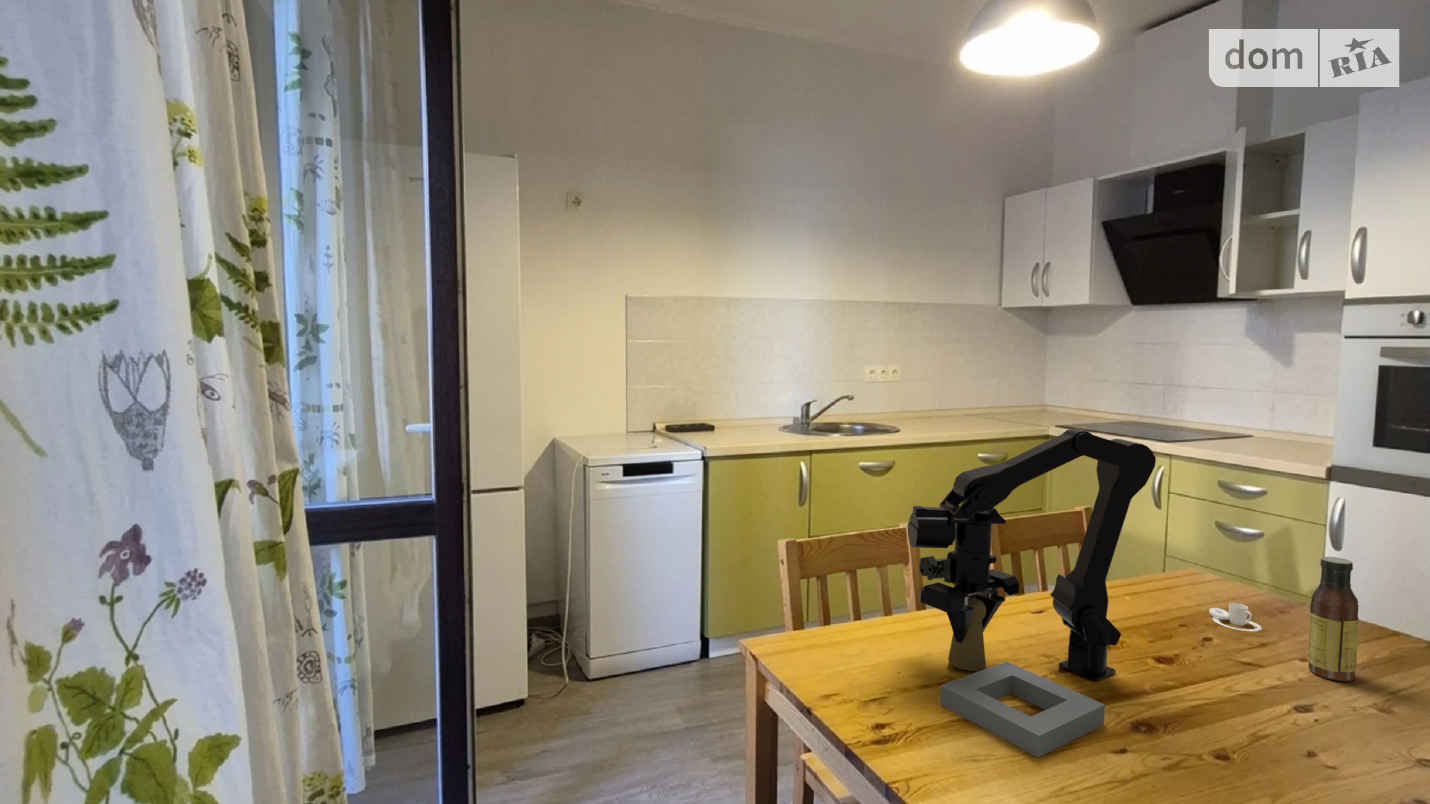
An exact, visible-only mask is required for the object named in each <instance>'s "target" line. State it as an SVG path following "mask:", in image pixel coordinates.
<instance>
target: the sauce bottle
mask: <svg viewBox="0 0 1430 804" xmlns="http://www.w3.org/2000/svg"><path fill="white" fill-rule="evenodd" d="M1353 565H1354V564H1353V562H1352V560H1349V559H1346V558H1341V557H1335V556H1323V557H1321V558H1320V567H1321V572H1320V573H1321V575H1320V580H1319V581H1320V583H1319V585H1318V586H1317V587H1316V589H1315V590H1314V591H1313V593H1312V594H1311V595H1312V596H1311V601H1310V607H1309V622H1308V625H1309V627H1308V645H1307V646H1308V647H1307V661H1308V669H1309V670H1310V672H1311V673H1313V674H1315V675H1317V676H1319V677H1321V678H1325V679H1330V680H1333V681H1337V682H1345V683H1346V682H1352V681H1354V680H1355V677H1356V671H1357V663H1358V662H1357V661H1358V645H1359V624H1360V618H1359V607H1360V606H1359V600H1358V598H1357V597H1356V594H1355V593H1354V591H1353V590H1352V588H1351V586H1352V584H1351V578H1352V577H1351V575H1352V574H1351V573H1352V571H1353V570H1354V566H1353Z"/></svg>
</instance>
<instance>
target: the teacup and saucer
mask: <svg viewBox="0 0 1430 804" xmlns="http://www.w3.org/2000/svg"><path fill="white" fill-rule="evenodd" d="M1208 612H1209V614H1210V616H1211V617H1212V621H1214V623H1216V624H1218V625H1219V626H1222V627H1226V628H1228V629H1232V630H1237V631H1240V632H1241V631H1242V632H1249V633H1250V632H1252V633H1253V632H1255V633H1256V632H1260V631H1262V626H1261V625H1260V624H1258V623H1256V622H1254V621H1252V619H1253V614H1252V612H1250V611H1249V606H1246V605H1245V604H1241V603H1237V602H1236V603H1235V602H1234V603H1233V602H1231V603H1229V604H1228V611H1227V610H1224V609H1222V608H1219V607H1210V608H1209V610H1208ZM1248 615H1249V617H1248ZM1221 621H1229V622H1230V624H1232V625H1233V626H1238V627H1239V626H1240V627H1242V626H1244V625H1247V624H1250V625H1252V626H1253V627H1257V628H1252V629H1251V628H1250V629H1246V628H1245V629H1244V628H1237V627H1233V626H1230V625H1226V624H1224V623H1222V622H1221ZM1259 630H1260V631H1259Z"/></svg>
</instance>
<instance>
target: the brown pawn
mask: <svg viewBox="0 0 1430 804" xmlns="http://www.w3.org/2000/svg"><path fill="white" fill-rule="evenodd" d="M968 606H970V607H973V608H974V611H973V614H972V617H971V620H970V623H969V626H968V629H967V632H966V635H965V638H964V640H963V641H962V643H959V642H957V641H956V640H955V637H954V634H953V633H952V638H951V643H950V647H949V653H948V658H947V659H948V663H949V664H950V665H952V666H953V667H955V668H958V669H961V670H965V671H971V672H973V671H975V672H978V671H981V670H984V669H986V668H987V665H986V664H987V663H986V661H987V660H986V653H985V652H986V650H985V643H984V641H985V639H984V632H983V627H982V620H983V619H984V618H985V615H986V607H985V604H984V603H983V602H982V601H981V600H979V599H977V598H974V597H969V598H968Z"/></svg>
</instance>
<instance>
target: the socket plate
mask: <svg viewBox="0 0 1430 804" xmlns="http://www.w3.org/2000/svg"><path fill="white" fill-rule="evenodd" d="M1011 694H1012V695H1014V696H1015V697H1017V698H1020V699H1021V700H1024V701H1025V702H1028V703H1030V704H1032V705H1034V706H1036V707H1038V708H1040V709H1043V711H1040V712H1038V713H1036V714H1034V715H1031V716H1030V715H1028V714H1026V713H1024V712H1022V711H1020V710H1018V709H1017V708H1014V707H1012V706H1010V705H1008V704H1006V703H1004V702H1002V701H999V699H1002V698H1004V697H1007V696H1010V695H1011ZM939 705H940V706H941V707H944V708H946V709H947V710H949V711H951V712H953V713H955V714H957V715H958V716H960V717H962V718H964V719H965V720H968V721H969V722H972V723H973V724H975V725H977V726H979V727H981V728H983V729H984V730H986V731H988V732H990V733H991V734H993V735H995V736H997V737H998V738H1000V739H1003V740H1004V741H1006V742H1007V743H1009V744H1012V745H1013V746H1016V747H1018V748H1019V749H1021V750H1023V751H1024V752H1026V753H1027V754H1030V755H1031V756H1033V757H1036V758H1037V759H1038V758H1040V757H1043V756H1044V755H1046V754H1048V753H1050V752H1052V751H1054V750H1056V749H1058V748H1060V747H1062V746H1064V745H1066V744H1068V743H1071V742H1072V741H1074V740H1076V739H1078V738H1079V737H1082V736H1085V735H1086V734H1088V733H1090V732H1092V731H1094V730H1096V729H1098V728H1100V727H1102V726H1104V724H1105V713H1106V712H1105V709H1106V704H1104V703H1102V702H1100V701H1098V700H1095V699H1093V698H1091V697H1088V696H1086V695H1084V694H1081V693H1079V692H1077V691H1075V690H1073V689H1070V688H1068V687H1066V686H1063V685H1061V684H1058V683H1056V682H1054V681H1052V680H1049V679H1048V678H1046V677H1043V676H1041V675H1038V674H1036V673H1033V672H1031V671H1030V670H1026V669H1024V668H1023V667H1020V666H1018V665H1016V664H1013V663H1011V662H1008V661H1003V662H1001V663H998V664H996V665H993V666H990V667H986V668H984V669H982V670H978V671H975V672H974V673H970V674H968V675H965V676H962V677H959V678H957V679H954V680H952V681H948V682H945V683H943V684H941V685H940V692H939Z"/></svg>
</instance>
